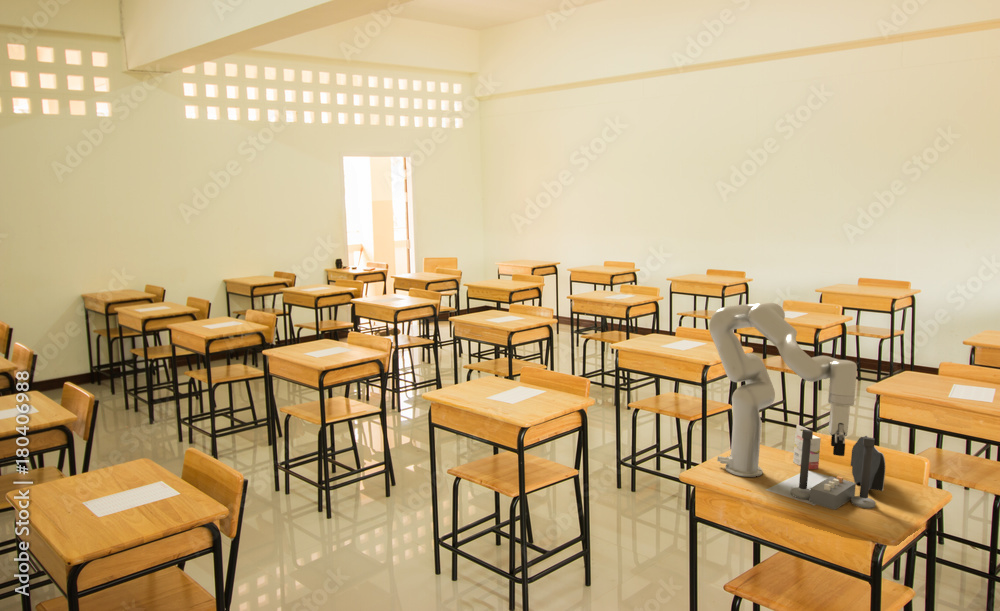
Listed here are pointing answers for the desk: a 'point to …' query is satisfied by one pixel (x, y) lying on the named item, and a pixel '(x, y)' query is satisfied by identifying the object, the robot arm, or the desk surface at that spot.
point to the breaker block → (832, 492)
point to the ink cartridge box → (813, 448)
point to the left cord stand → (804, 467)
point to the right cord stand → (865, 476)
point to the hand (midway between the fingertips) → (837, 450)
